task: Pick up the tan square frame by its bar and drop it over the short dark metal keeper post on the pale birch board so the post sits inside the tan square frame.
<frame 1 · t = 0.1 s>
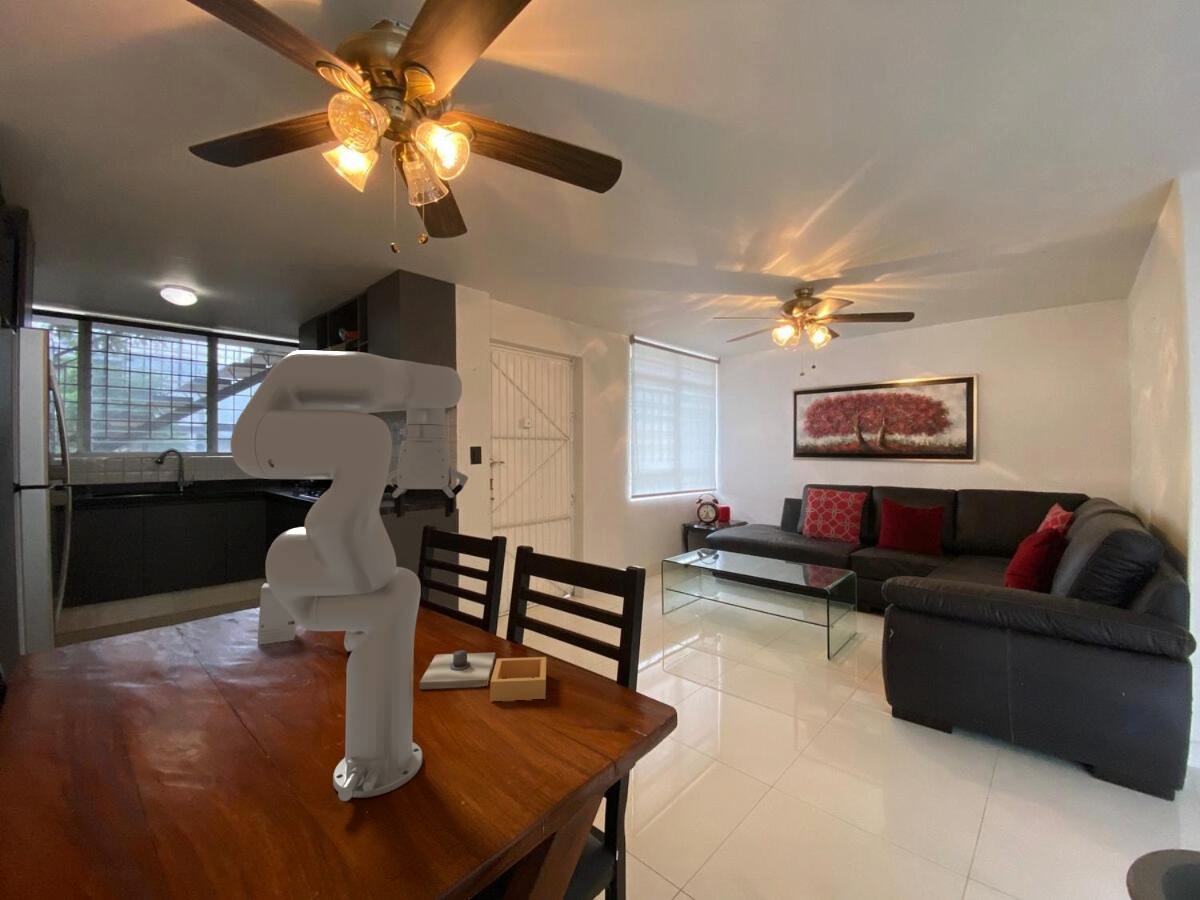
hand: (424, 516, 98), 37 cm above the table, tool pointing down, fingers open, 9 cm apart
tan square frame: (519, 687, 101), on the table
plastic bottle: (358, 650, 119), on the table
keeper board: (460, 672, 107), on the table
skincare box: (278, 640, 126), on the table
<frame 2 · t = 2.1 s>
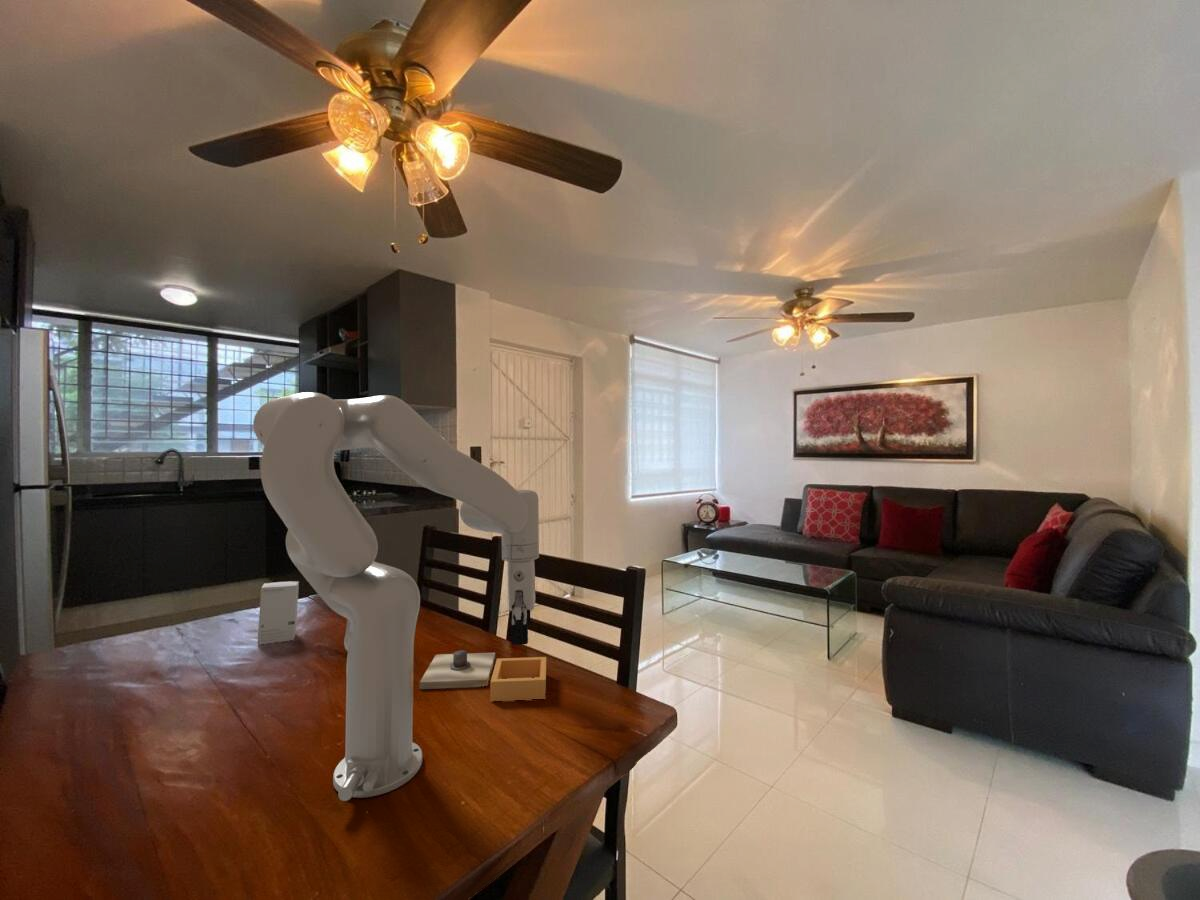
hand: (521, 634, 96), 13 cm above the table, tool pointing down, fingers open, 9 cm apart
nothing on the table moved.
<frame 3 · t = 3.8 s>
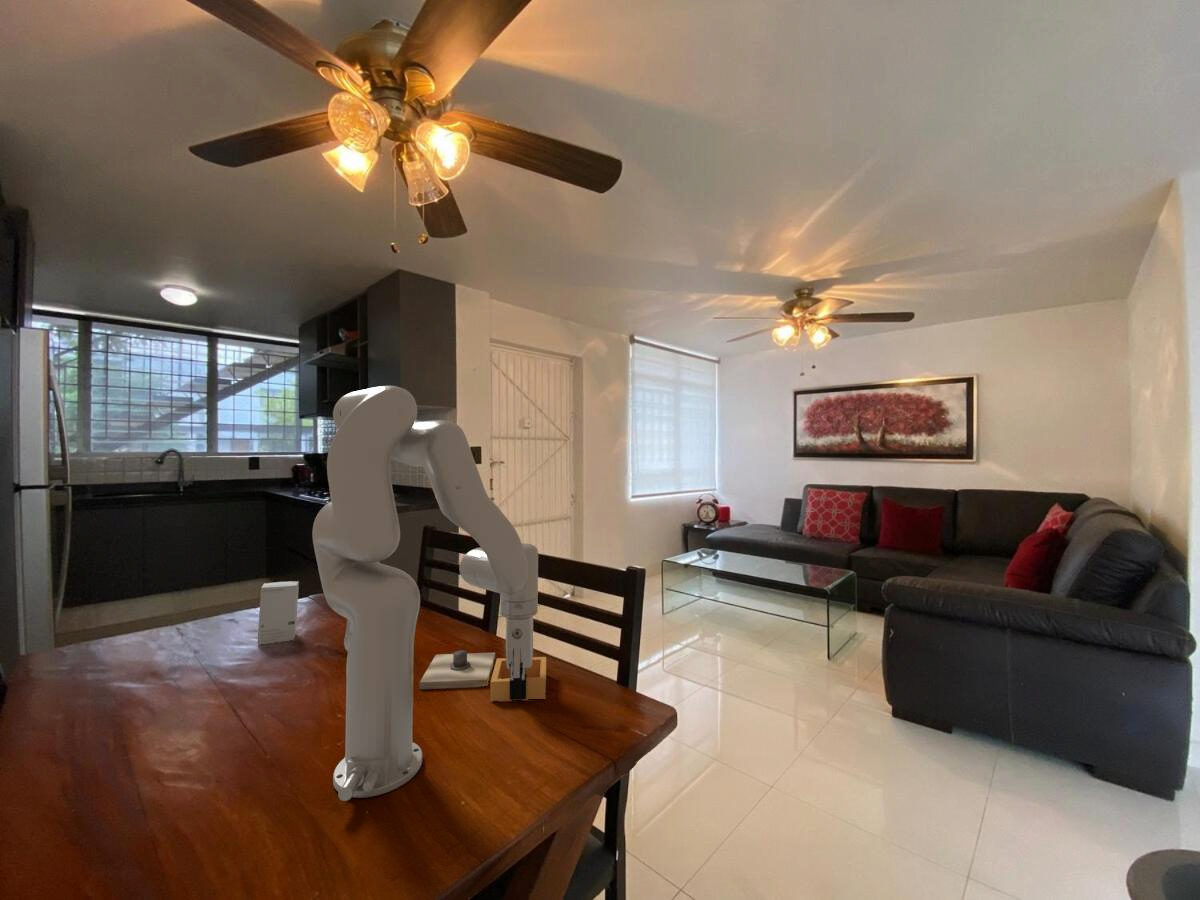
hand: (518, 696, 96), 1 cm above the table, tool pointing down, fingers closed on tan square frame
tan square frame: (519, 687, 101), on the table, touching gripper
everything else where it was.
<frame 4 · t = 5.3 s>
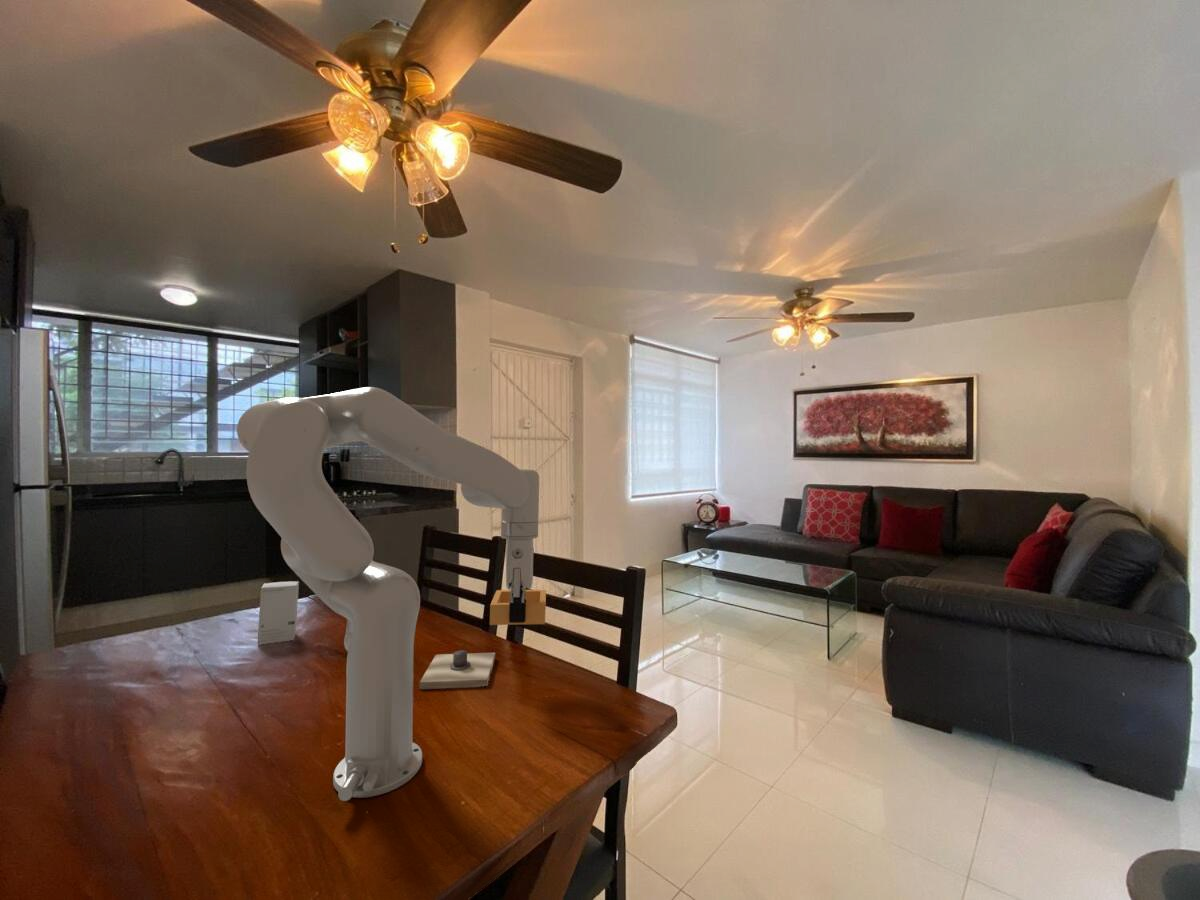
hand: (517, 620, 96), 16 cm above the table, tool pointing down, fingers closed on tan square frame
tan square frame: (519, 615, 101), point 15 cm above the table, touching gripper
everything else where it was.
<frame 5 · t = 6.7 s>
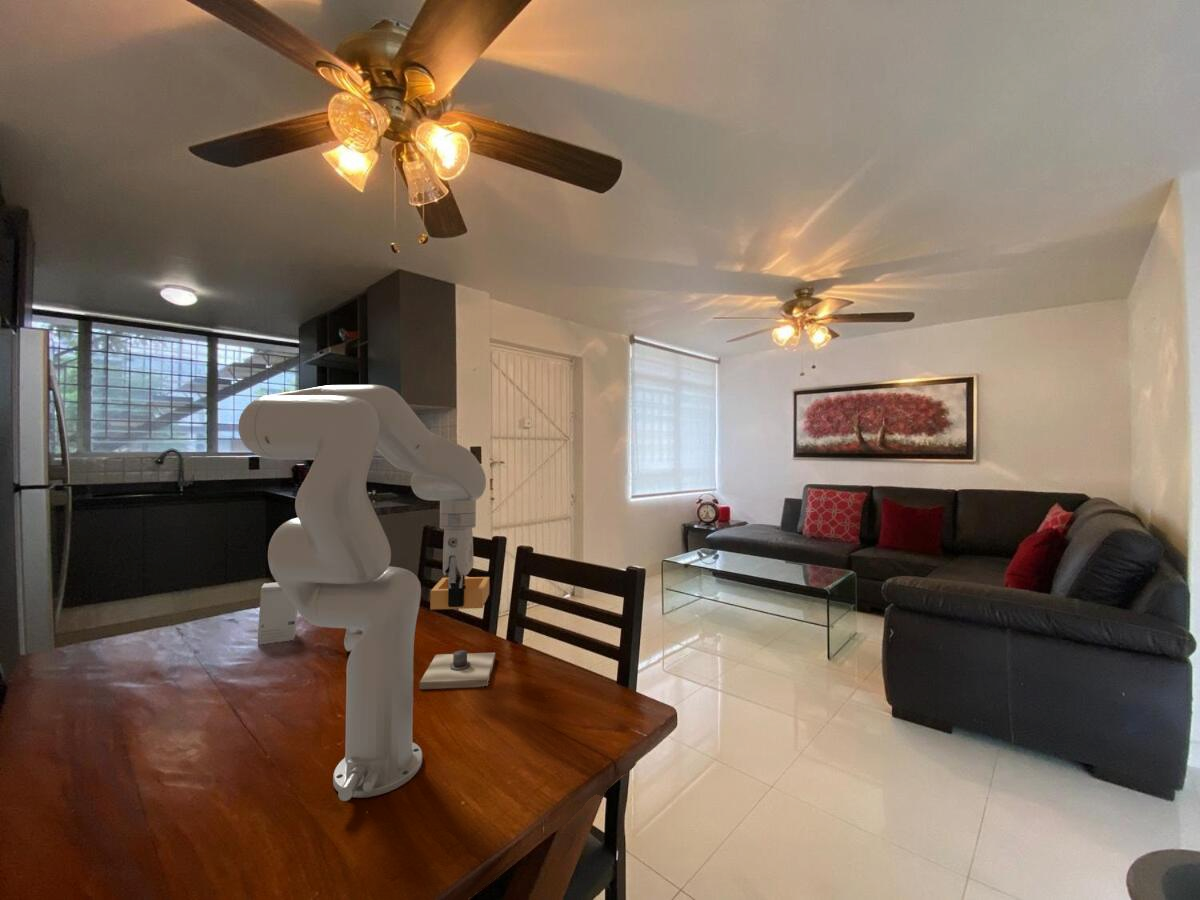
hand: (456, 604, 103), 17 cm above the table, tool pointing down, fingers closed on tan square frame
tan square frame: (461, 601, 107), point 16 cm above the table, touching gripper
everything else where it was.
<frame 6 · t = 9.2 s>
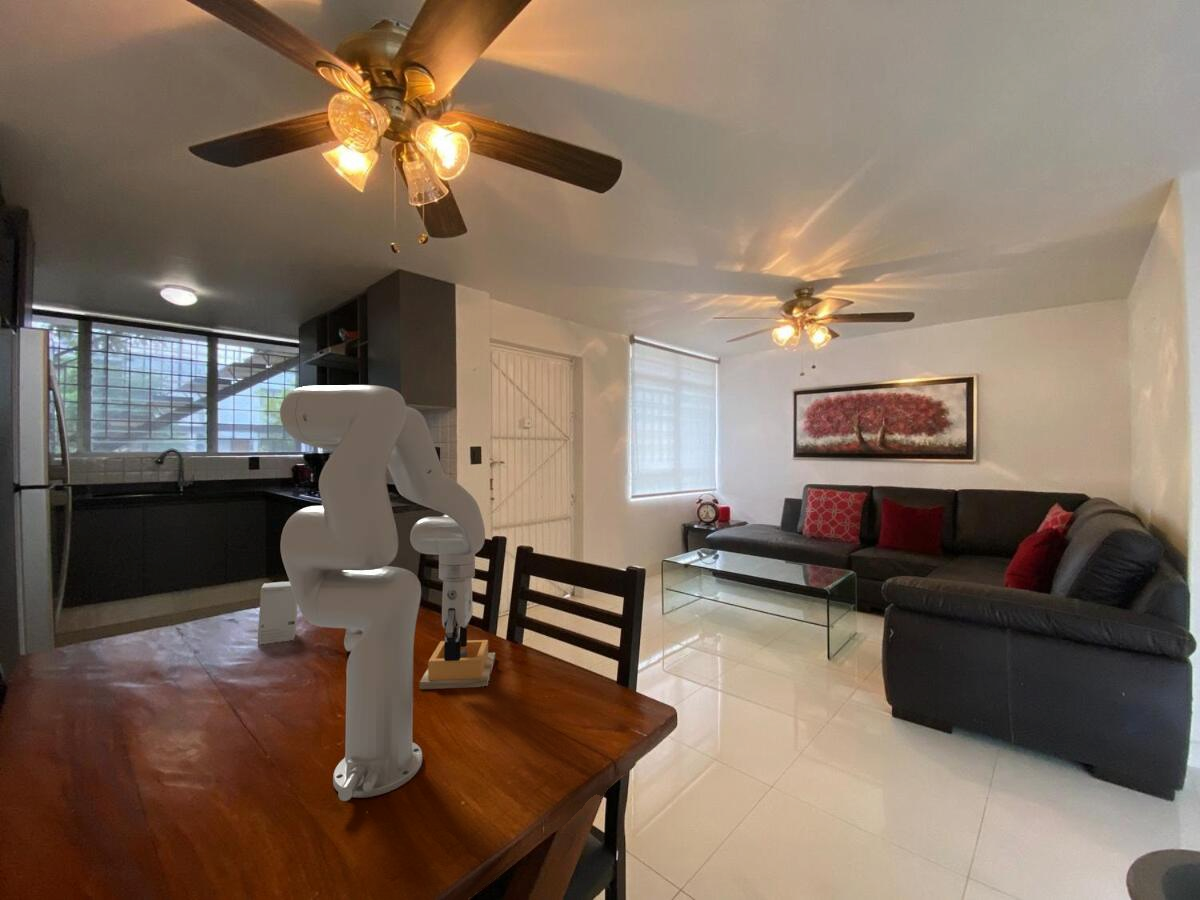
hand: (456, 652, 102), 7 cm above the table, tool pointing down, fingers open, 6 cm apart
tan square frame: (459, 667, 106), point 1 cm above the table, touching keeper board
everything else where it was.
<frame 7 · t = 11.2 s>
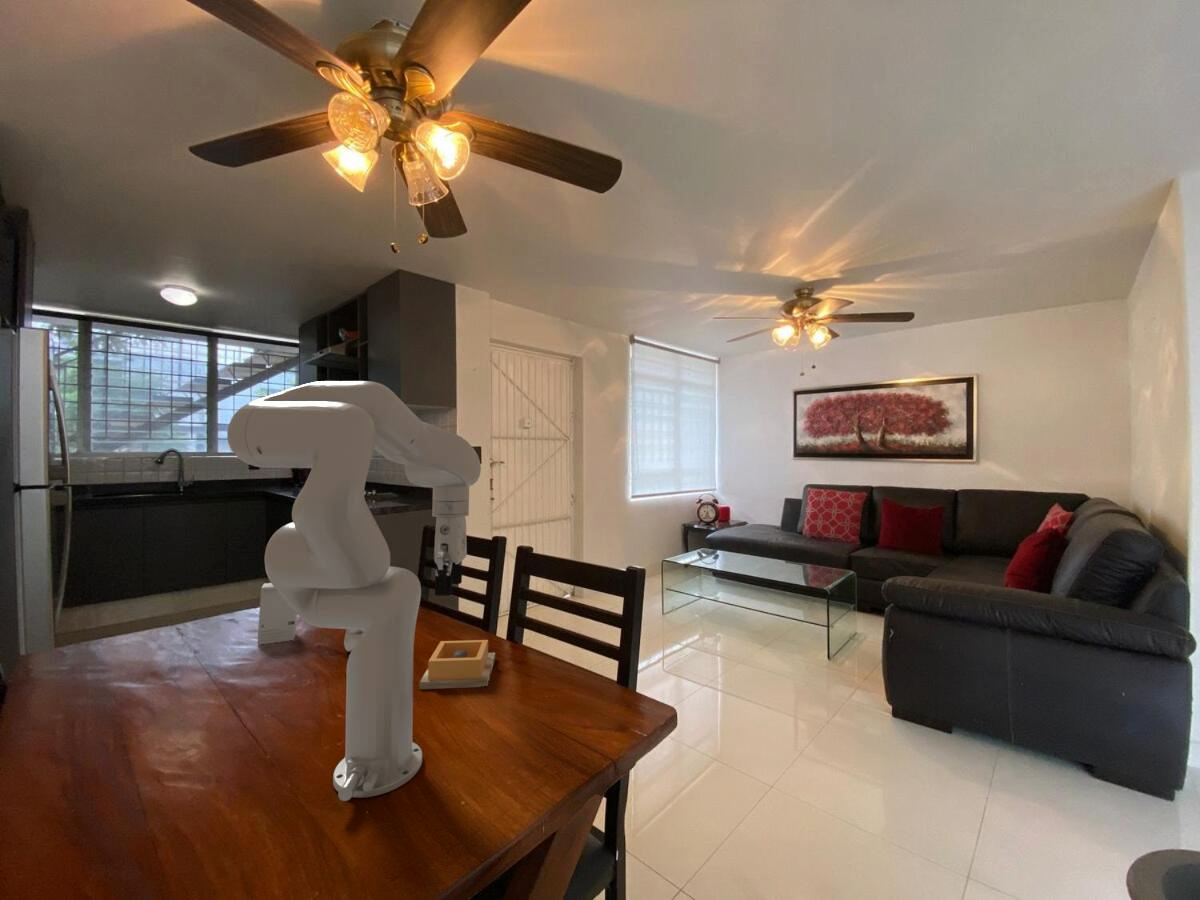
hand: (449, 589, 101), 21 cm above the table, tool pointing down, fingers open, 9 cm apart
nothing on the table moved.
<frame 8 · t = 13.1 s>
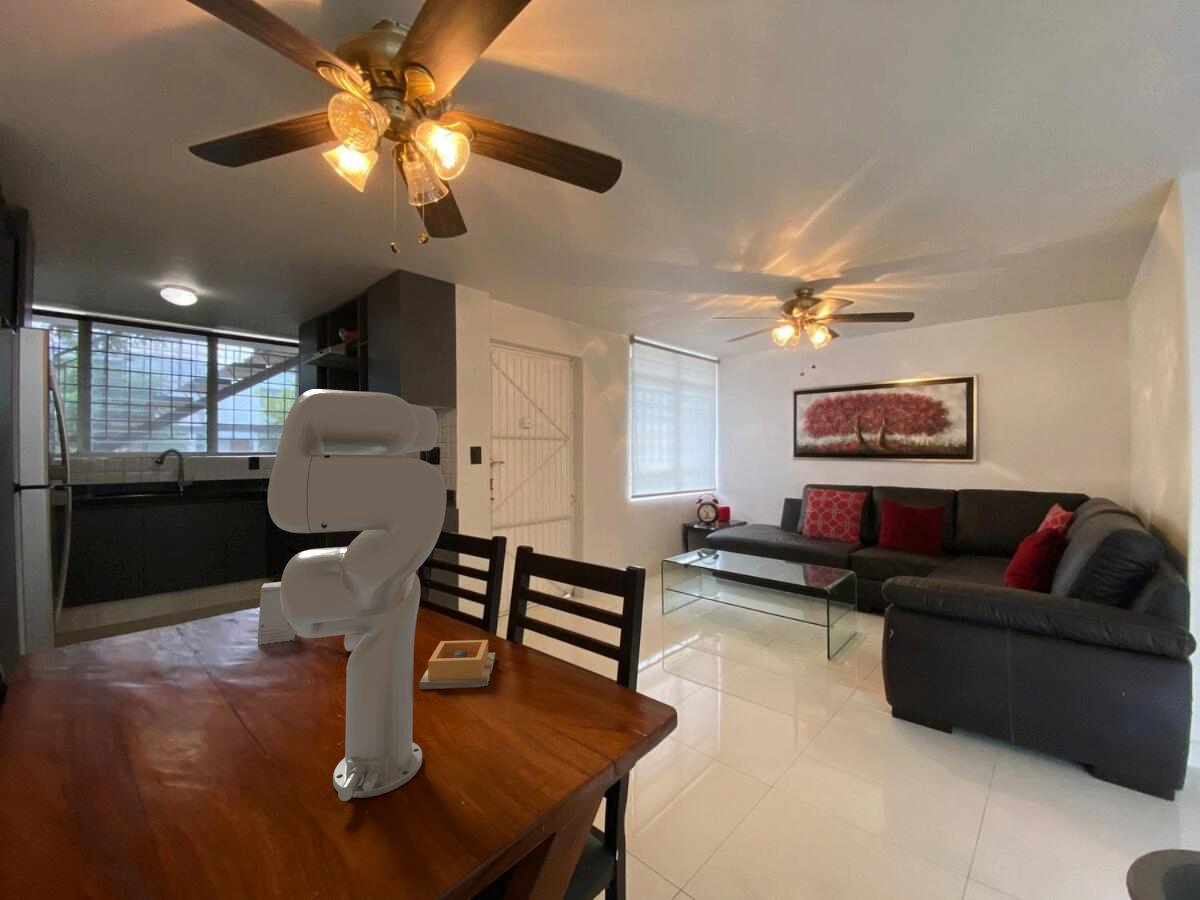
hand: (383, 563, 91), 28 cm above the table, tool pointing down, fingers open, 9 cm apart
nothing on the table moved.
at the end: tan square frame 0.8 cm from the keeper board (horizontally); tan square frame point 1.5 cm above the table; the gripper is holding nothing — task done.
